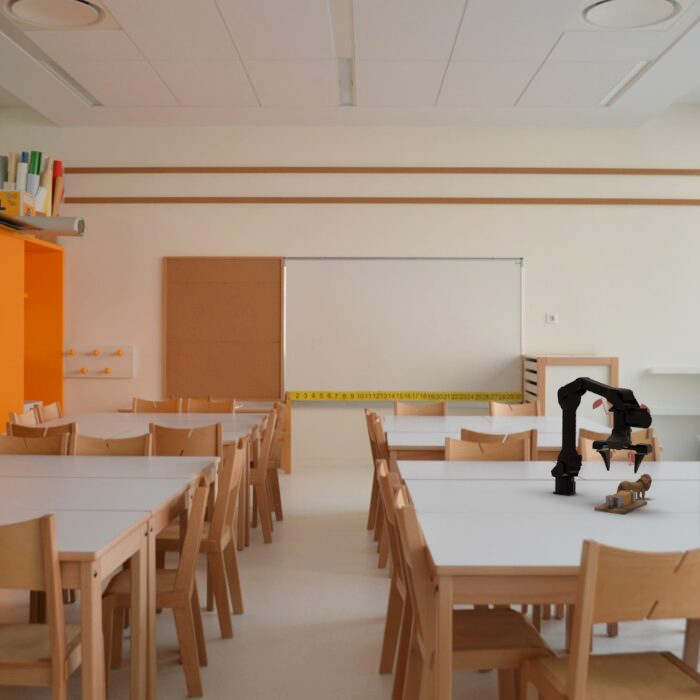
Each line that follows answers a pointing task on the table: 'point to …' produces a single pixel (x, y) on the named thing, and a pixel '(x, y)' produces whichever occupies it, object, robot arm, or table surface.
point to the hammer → (622, 498)
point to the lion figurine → (637, 485)
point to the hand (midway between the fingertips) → (621, 472)
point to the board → (624, 510)
